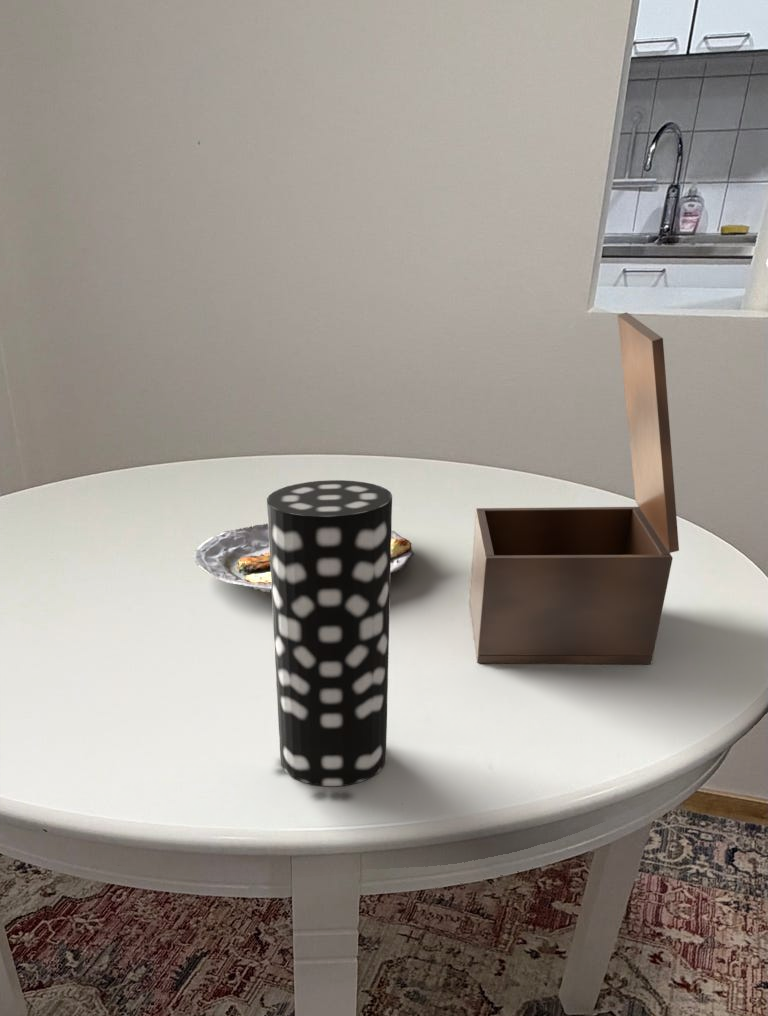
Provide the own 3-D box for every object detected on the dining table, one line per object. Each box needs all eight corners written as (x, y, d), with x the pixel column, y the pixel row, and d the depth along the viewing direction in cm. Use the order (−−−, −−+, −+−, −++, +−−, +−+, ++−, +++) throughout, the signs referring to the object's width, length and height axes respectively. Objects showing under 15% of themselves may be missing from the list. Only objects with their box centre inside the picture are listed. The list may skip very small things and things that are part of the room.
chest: (476, 663, 88) (485, 558, 82) (468, 603, 100) (476, 508, 94) (651, 664, 86) (673, 557, 80) (622, 603, 98) (639, 506, 92)
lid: (651, 341, 71) (663, 337, 71) (617, 315, 83) (626, 312, 83) (669, 553, 80) (679, 550, 80) (635, 502, 92) (644, 500, 92)
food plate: (349, 524, 123) (349, 496, 121) (452, 578, 106) (454, 546, 104) (167, 560, 114) (164, 530, 112) (248, 624, 97) (245, 591, 95)
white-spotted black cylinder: (277, 787, 72) (262, 518, 60) (283, 733, 78) (270, 482, 67) (388, 786, 71) (394, 514, 59) (384, 732, 78) (389, 478, 66)
